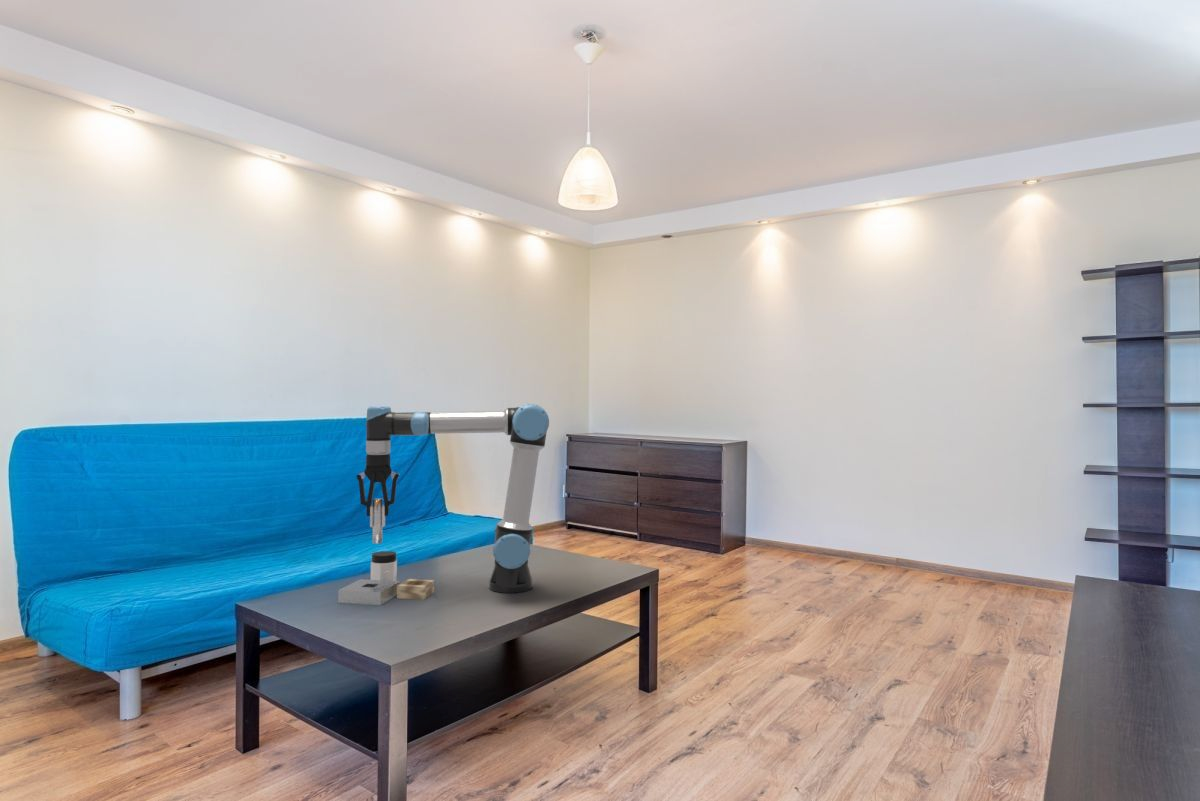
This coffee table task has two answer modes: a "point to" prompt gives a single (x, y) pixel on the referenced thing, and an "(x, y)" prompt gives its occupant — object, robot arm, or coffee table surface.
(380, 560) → the jar
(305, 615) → the coffee table surface
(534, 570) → the coffee table surface
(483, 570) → the coffee table surface
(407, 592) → the holder
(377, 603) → the block
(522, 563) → the robot arm
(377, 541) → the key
